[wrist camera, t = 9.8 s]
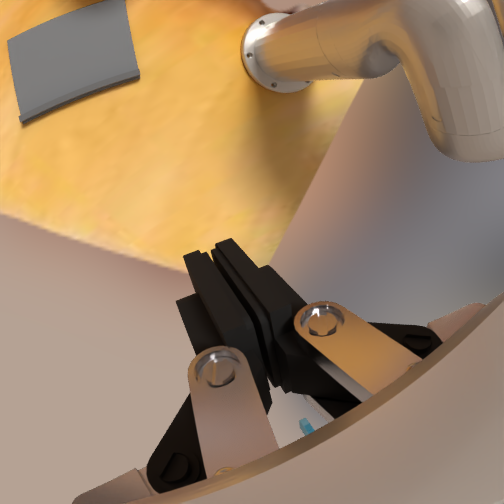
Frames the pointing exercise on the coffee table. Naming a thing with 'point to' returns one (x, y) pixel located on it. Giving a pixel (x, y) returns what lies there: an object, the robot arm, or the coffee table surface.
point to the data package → (305, 426)
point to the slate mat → (72, 58)
